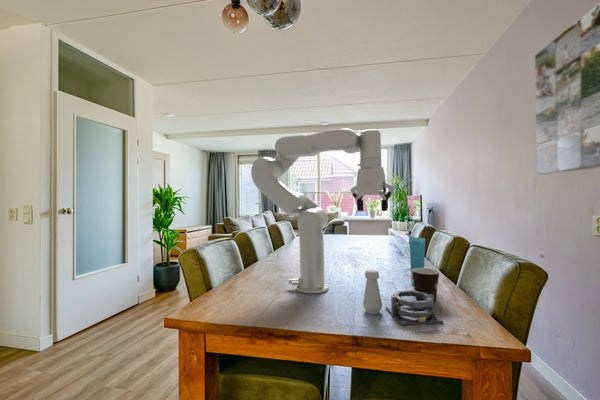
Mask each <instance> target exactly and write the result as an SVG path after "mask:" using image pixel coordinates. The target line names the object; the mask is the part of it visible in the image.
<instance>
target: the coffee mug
mask: <svg viewBox="0 0 600 400" xmlns="http://www.w3.org/2000/svg"><path fill="white" fill-rule="evenodd" d="M412 273H413V281H414V285H413V287H414V291H418V292H423V293H426V294H432V295H434V303H436V301H437V296H438V295H437V294H438V287H439V277H440V271H439V270H437V269H434V268H427V267H424V268H414V269H412ZM415 301H425V300H424V299H423V298H419V297H415Z"/></svg>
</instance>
